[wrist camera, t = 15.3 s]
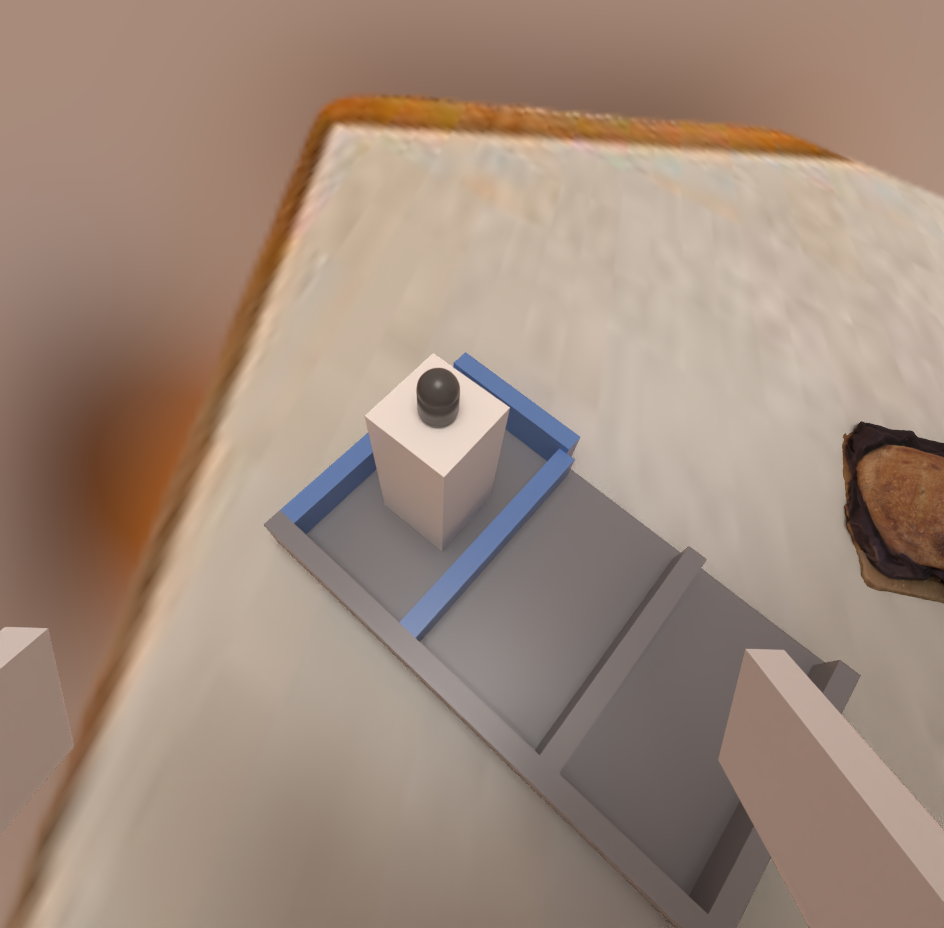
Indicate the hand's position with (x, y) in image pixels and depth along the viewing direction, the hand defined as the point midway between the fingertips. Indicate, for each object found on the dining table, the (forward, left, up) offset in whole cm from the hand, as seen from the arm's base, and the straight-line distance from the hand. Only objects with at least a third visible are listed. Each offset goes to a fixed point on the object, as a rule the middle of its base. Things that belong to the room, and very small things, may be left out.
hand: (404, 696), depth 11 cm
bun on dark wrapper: (-26, +14, -17) cm, 34 cm away
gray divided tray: (-8, +1, -16) cm, 18 cm away
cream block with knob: (-8, -7, -16) cm, 19 cm away
